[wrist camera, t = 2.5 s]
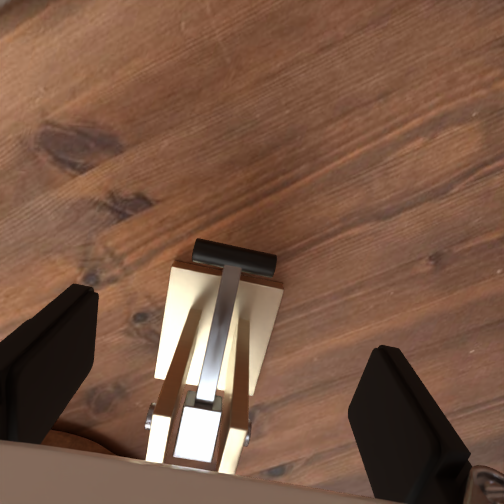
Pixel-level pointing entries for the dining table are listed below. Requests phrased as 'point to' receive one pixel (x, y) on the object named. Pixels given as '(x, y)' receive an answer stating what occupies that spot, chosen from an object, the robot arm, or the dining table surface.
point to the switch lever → (215, 347)
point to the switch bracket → (193, 350)
